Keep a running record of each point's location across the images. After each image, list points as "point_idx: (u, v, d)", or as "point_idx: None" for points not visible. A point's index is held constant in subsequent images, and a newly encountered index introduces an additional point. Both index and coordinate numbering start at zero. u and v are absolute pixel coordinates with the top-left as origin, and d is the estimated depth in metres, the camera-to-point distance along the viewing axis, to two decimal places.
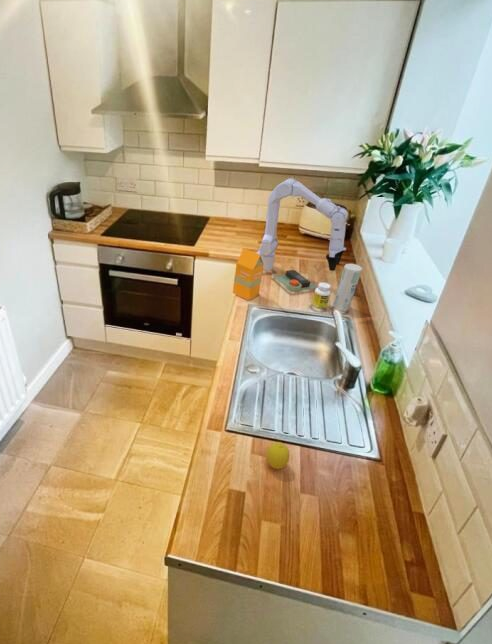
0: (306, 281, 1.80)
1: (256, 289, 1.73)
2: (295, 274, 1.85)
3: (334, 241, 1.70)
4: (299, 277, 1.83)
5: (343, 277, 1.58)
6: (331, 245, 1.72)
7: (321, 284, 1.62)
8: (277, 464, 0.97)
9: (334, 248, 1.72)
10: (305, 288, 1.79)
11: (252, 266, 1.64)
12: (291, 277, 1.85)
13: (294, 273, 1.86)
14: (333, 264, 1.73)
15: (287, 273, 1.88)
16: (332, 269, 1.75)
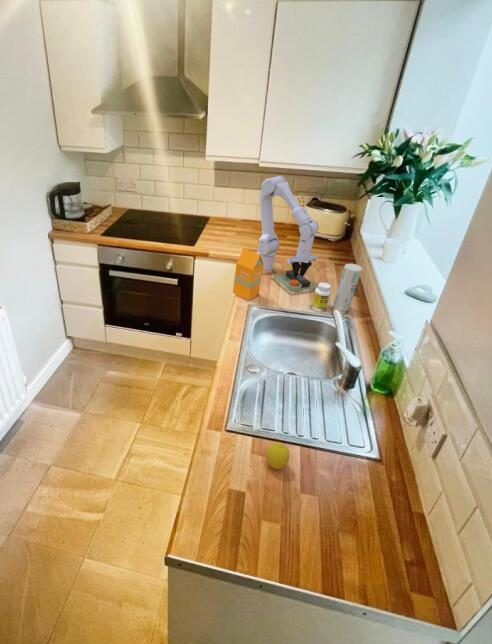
0: (306, 281, 1.80)
1: (256, 289, 1.73)
2: None
3: (298, 250, 1.77)
4: (299, 277, 1.83)
5: (343, 277, 1.58)
6: None
7: (321, 284, 1.62)
8: (277, 464, 0.97)
9: (297, 257, 1.78)
10: (305, 288, 1.79)
11: (252, 266, 1.64)
12: (291, 277, 1.85)
13: None
14: (295, 271, 1.81)
15: (287, 273, 1.88)
16: (294, 275, 1.83)
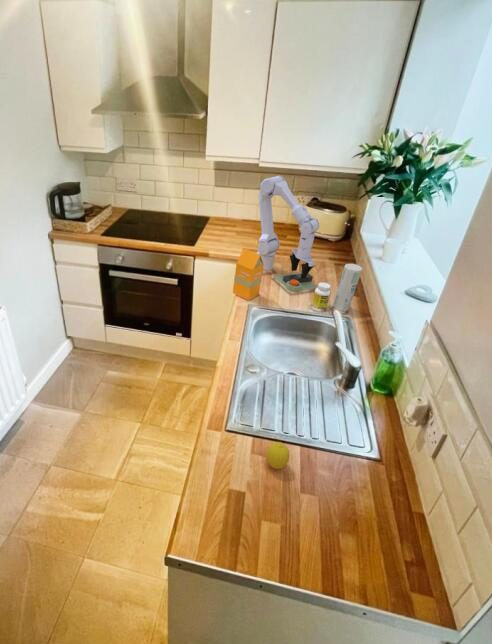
0: (307, 274, 1.86)
1: (256, 289, 1.73)
2: (295, 276, 1.83)
3: (307, 251, 1.74)
4: None
5: (343, 277, 1.58)
6: (303, 254, 1.75)
7: (321, 284, 1.62)
8: (277, 464, 0.97)
9: (306, 257, 1.76)
10: (305, 288, 1.79)
11: (252, 266, 1.64)
12: None
13: (293, 276, 1.83)
14: (306, 272, 1.78)
15: None
16: (304, 277, 1.80)
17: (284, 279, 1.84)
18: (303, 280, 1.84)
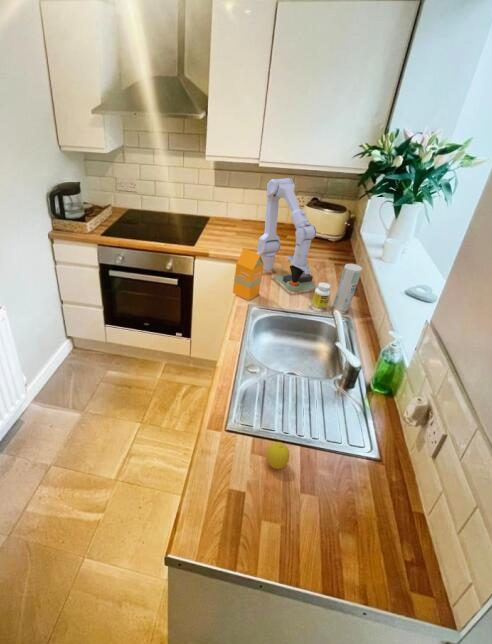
0: (307, 274, 1.86)
1: (256, 289, 1.73)
2: None
3: (303, 258, 1.68)
4: (301, 275, 1.84)
5: (343, 277, 1.58)
6: (299, 262, 1.69)
7: (321, 284, 1.62)
8: (277, 464, 0.97)
9: (302, 264, 1.70)
10: (305, 288, 1.79)
11: (252, 266, 1.64)
12: None
13: None
14: (297, 276, 1.75)
15: None
16: (296, 281, 1.77)
17: (284, 279, 1.84)
18: (303, 280, 1.84)
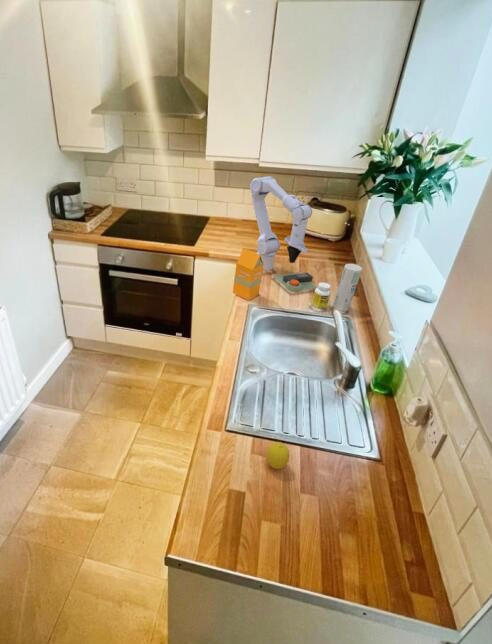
0: (307, 274, 1.86)
1: (256, 289, 1.73)
2: (295, 276, 1.83)
3: (300, 238, 1.72)
4: (301, 275, 1.84)
5: (343, 277, 1.58)
6: (296, 242, 1.73)
7: (321, 284, 1.62)
8: (277, 464, 0.97)
9: (299, 244, 1.74)
10: (305, 288, 1.79)
11: (252, 266, 1.64)
12: None
13: (293, 276, 1.83)
14: (295, 256, 1.79)
15: None
16: (293, 261, 1.80)
17: (284, 279, 1.84)
18: (303, 280, 1.84)
